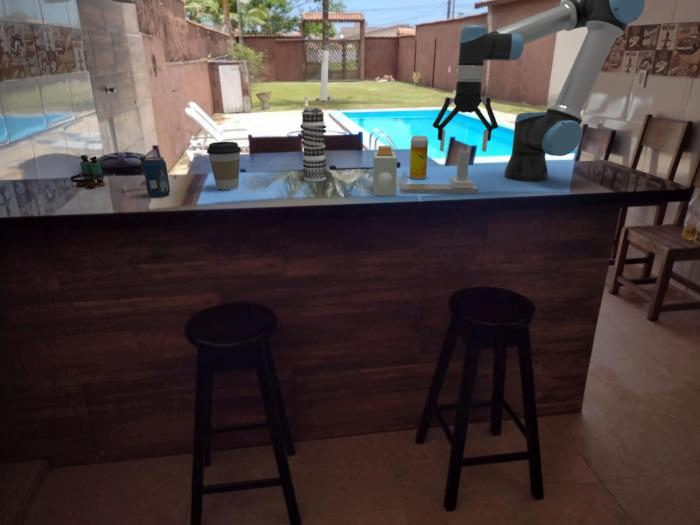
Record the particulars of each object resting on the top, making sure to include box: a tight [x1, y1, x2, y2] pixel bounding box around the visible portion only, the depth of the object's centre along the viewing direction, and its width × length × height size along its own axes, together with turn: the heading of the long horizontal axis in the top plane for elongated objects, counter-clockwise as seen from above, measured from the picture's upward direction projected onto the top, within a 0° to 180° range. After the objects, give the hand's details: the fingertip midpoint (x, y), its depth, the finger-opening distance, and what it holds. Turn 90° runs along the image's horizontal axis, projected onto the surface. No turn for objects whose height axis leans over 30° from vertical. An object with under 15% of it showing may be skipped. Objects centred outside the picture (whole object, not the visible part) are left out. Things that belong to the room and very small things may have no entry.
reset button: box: [377, 145, 392, 156], centre depth 161 cm, size 4×4×5 cm
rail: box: [399, 183, 479, 194], centre depth 165 cm, size 25×7×2 cm, turn 89°
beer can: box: [409, 135, 429, 180], centre depth 181 cm, size 6×6×15 cm
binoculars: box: [70, 154, 106, 190], centre depth 172 cm, size 9×11×10 cm
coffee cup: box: [206, 141, 242, 191], centre depth 168 cm, size 11×11×15 cm
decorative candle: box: [299, 107, 327, 182], centre depth 179 cm, size 9×9×25 cm
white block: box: [372, 151, 398, 196], centre depth 163 cm, size 7×12×12 cm, turn 179°
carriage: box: [449, 150, 474, 188], centre depth 163 cm, size 6×7×11 cm
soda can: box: [142, 156, 171, 198], centre depth 160 cm, size 7×7×12 cm
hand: (462, 151), depth 161 cm, fingers open, 13 cm apart
